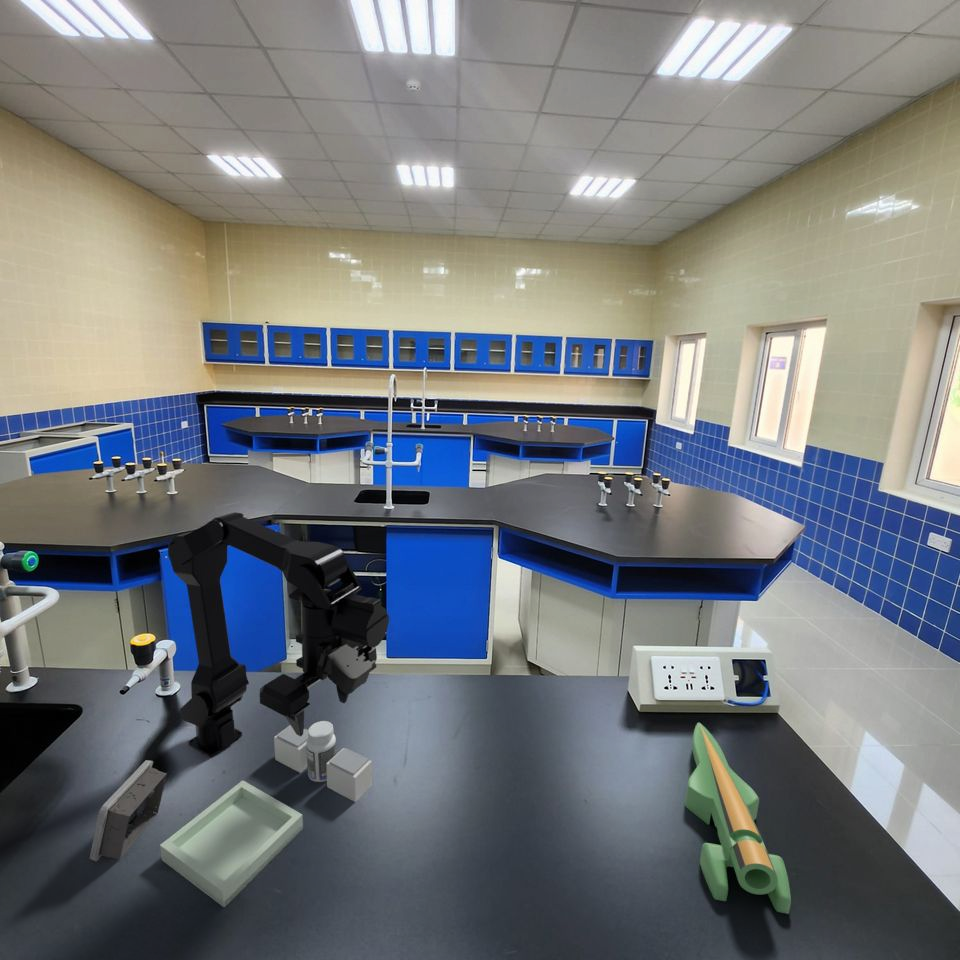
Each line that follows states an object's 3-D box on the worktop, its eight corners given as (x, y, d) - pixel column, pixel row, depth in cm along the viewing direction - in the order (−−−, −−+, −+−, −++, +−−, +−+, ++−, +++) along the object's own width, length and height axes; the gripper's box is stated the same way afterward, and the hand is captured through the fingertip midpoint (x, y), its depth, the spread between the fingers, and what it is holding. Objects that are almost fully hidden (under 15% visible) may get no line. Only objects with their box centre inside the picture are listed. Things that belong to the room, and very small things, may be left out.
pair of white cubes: (275, 759, 89) (273, 735, 88) (293, 745, 92) (292, 721, 91) (355, 802, 81) (355, 775, 80) (372, 784, 84) (371, 759, 83)
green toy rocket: (667, 735, 98) (671, 702, 97) (725, 744, 97) (730, 710, 95) (709, 901, 67) (716, 855, 66) (795, 918, 66) (805, 872, 64)
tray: (161, 860, 70) (160, 845, 70) (243, 793, 82) (242, 780, 81) (224, 907, 64) (222, 891, 64) (303, 828, 76) (302, 814, 75)
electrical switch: (138, 806, 79) (137, 755, 77) (170, 812, 78) (170, 761, 76) (88, 864, 69) (85, 807, 67) (125, 870, 69) (123, 814, 67)
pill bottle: (339, 761, 89) (338, 719, 87) (333, 783, 84) (331, 738, 82) (312, 761, 89) (310, 719, 87) (303, 783, 84) (302, 738, 82)
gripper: (313, 676, 66) (314, 778, 70) (401, 618, 82) (398, 704, 86) (255, 649, 71) (259, 746, 75) (348, 600, 87) (348, 681, 91)
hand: (322, 717), depth 81 cm, fingers open, 9 cm apart
